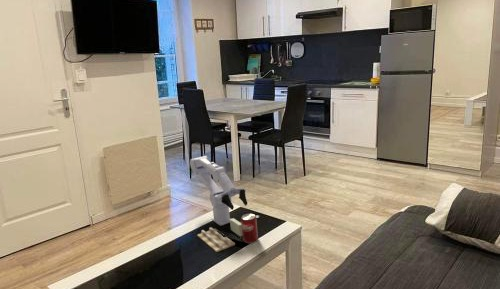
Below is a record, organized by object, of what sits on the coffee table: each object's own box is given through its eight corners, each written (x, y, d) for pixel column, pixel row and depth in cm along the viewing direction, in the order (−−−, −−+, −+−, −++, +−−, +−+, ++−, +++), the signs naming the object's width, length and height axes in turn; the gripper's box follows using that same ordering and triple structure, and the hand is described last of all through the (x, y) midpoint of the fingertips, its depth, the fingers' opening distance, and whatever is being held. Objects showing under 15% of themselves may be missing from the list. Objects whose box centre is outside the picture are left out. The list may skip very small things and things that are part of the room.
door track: (197, 236, 183) (197, 231, 182) (215, 229, 188) (214, 225, 188) (216, 252, 166) (215, 247, 166) (235, 244, 172) (234, 240, 171)
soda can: (252, 245, 170) (249, 221, 167) (239, 241, 174) (237, 218, 172) (261, 238, 176) (259, 215, 173) (249, 234, 180) (247, 212, 177)
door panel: (230, 230, 187) (229, 219, 185) (234, 228, 188) (233, 218, 186) (240, 236, 179) (239, 225, 178) (243, 235, 180) (242, 224, 179)
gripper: (215, 183, 178) (228, 205, 170) (241, 177, 185) (254, 197, 178) (213, 193, 183) (225, 214, 175) (238, 186, 190) (250, 206, 182)
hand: (239, 206), depth 177 cm, fingers open, 7 cm apart
